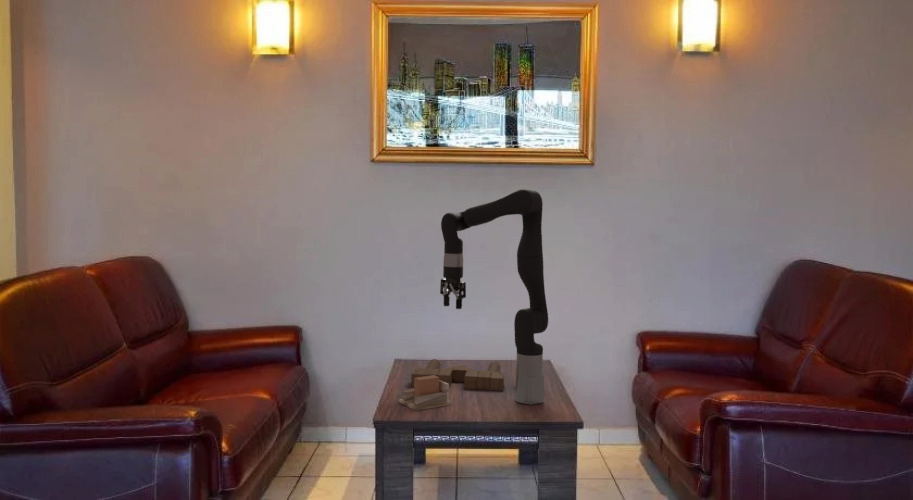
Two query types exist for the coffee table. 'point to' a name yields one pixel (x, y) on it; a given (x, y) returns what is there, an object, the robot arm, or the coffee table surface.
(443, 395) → the birch slot rack
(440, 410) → the coffee table surface
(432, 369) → the brown segmented blocky figure
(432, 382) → the rust book
